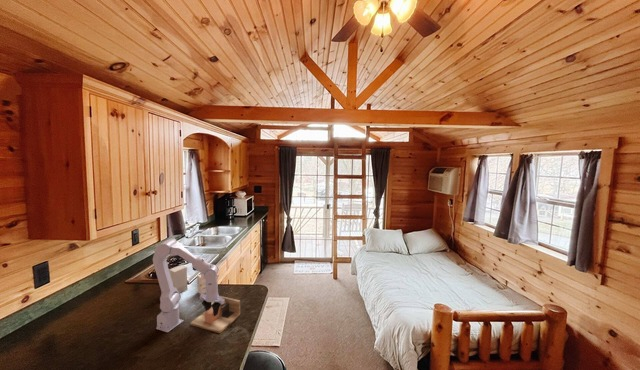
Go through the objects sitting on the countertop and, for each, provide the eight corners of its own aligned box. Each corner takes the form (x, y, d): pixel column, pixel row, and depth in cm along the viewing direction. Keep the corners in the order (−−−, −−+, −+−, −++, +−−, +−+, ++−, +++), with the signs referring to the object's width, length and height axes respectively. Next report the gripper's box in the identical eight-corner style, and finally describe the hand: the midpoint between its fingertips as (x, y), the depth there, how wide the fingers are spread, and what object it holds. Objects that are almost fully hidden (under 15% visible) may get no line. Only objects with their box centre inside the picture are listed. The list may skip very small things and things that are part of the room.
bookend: (227, 318, 131) (227, 309, 130) (221, 316, 132) (221, 307, 131) (234, 312, 136) (234, 303, 135) (227, 310, 137) (227, 302, 136)
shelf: (220, 333, 121) (219, 317, 120) (190, 324, 127) (190, 309, 126) (240, 314, 136) (240, 300, 135) (213, 307, 142) (212, 294, 141)
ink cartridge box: (210, 287, 164) (209, 266, 163) (214, 289, 161) (213, 268, 160) (197, 292, 158) (196, 270, 156) (201, 295, 155) (200, 272, 153)
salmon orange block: (211, 323, 126) (211, 314, 125) (204, 321, 127) (204, 312, 127) (220, 315, 133) (220, 306, 132) (214, 313, 134) (214, 305, 133)
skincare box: (182, 287, 164) (181, 264, 163) (188, 289, 161) (187, 266, 159) (169, 292, 157) (168, 269, 155) (175, 295, 153) (174, 271, 152)
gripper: (228, 288, 129) (228, 312, 131) (206, 283, 134) (206, 307, 135) (219, 294, 123) (219, 320, 124) (196, 289, 127) (196, 314, 129)
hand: (212, 314), depth 129 cm, fingers closed on salmon orange block, 4 cm apart
